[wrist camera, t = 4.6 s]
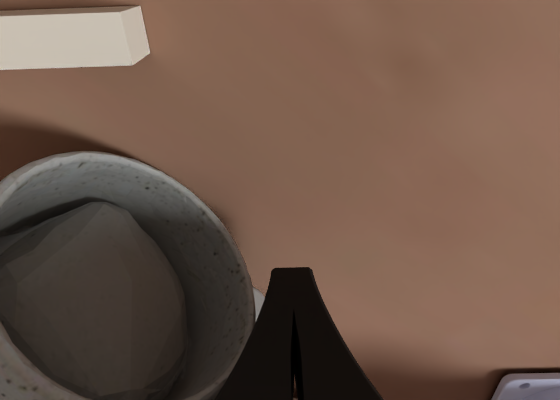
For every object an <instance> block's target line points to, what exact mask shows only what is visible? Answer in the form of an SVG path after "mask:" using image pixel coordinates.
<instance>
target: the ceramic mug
mask: <svg viewBox="0 0 560 400" xmlns="http://www.w3.org/2000/svg"><path fill="white" fill-rule="evenodd" d="M264 299H265V298H264V296H263V294H262V293H261V292H260V291H259V290H258V289H256V288H255V287H253V286H252V282H251V277H250V275H249V273H248V271H247V267H246V263H245V261H244V259H243V257H242V255H241V253H240V251H239V249H238V246H237V244H236V243H235V241H234V240H233V238H232V237H231V235H230V234H229V232H228V230H227V229H226V227H225V226H224V225H223V223H222V222H221V221H220V220H219V219H218V217H217V216H216V215H215V214H214V213H213V212H212V211H211V210H210V208H209V207H208V206H207V205H206V204H205V203H204V202H202V201H201V200H200V199H199V198H198V197H197V196H196V195H194V194H193V193H192V192H191V191H190V190H189V189H187V188H186V187H185V186H183V185H182V184H180V183H179V182H178V181H176V180H175V179H173V178H172V177H170V176H168V175H166V174H165V173H164V172H162V171H160V170H158V169H156V168H153V167H151V166H149V165H147V164H144V163H142V162H140V161H138V160H135V159H131V158H127V157H123V156H119V155H115V154H112V153H107V152H97V151H75V152H68V153H61V154H55V155H51V156H48V157H45V158H42V159H39V160H36V161H33V162H30V163H28V164H26V165H24V166H23V167H21V168H19V169H17V170H16V171H14V172H12V173H10V174H9V175H7V176H6V177H5V178H4V179H3V180H1V181H0V400H215V398H216V396H217V395H218V393H219V392H220V390H221V388H222V387H223V385H224V383H225V382H226V380H227V378H228V377H229V375H230V373H231V371H232V370H233V368H234V366H235V364H236V362H237V360H238V359H239V357H240V355H241V353H242V351H243V349H244V347H245V345H246V342H247V340H248V338H249V336H250V334H251V332H252V330H253V327H254V325H255V323H256V320H257V318H258V315H259V313H260V310H261V307H262V305H263V302H264Z"/></svg>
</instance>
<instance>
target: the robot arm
mask: <svg viewBox="0 0 560 400" xmlns="http://www.w3.org/2000/svg"><path fill="white" fill-rule="evenodd" d="M294 374H295V381H296V389H297V397H298V400H383V398H382V397H381V396H380V394H379V393H378V392H377V390H376V389H375V387H374V386H373V385H372V383H371V382H370V381H369V379H368V378H367V376H366V375H365V373H364V372H363V370H362V369H361V367H360V366H359V364H358V363H357V361H356V360H355V358H354V357H353V355H352V353H351V352H350V350H349V349H348V347H347V345H346V344H345V342H344V340H343V338H342V337H341V335H340V333H339V331H338V330H337V328H336V326H335V324H334V322H333V320H332V318H331V316H330V314H329V312H328V310H327V308H326V306H325V304H324V302H323V299H322V297H321V295H320V292H319V290H318V287H317V285H316V282H315V279H314V275H313V271H312V269H310V268H309V267H298V268H274V269H273V270H272V271H271V278H270V282H269V286H268V290H267V293H266V296H265V299H264V302H263V305H262V307H261V310H260V313H259V315H258V318H257V320H256V323H255V325H254V327H253V330H252V332H251V334H250V336H249V338H248V340H247V342H246V345H245V347H244V349H243V351H242V353H241V355H240V357H239V359H238V360H237V362H236V364H235V366H234V368H233V370H232V371H231V373H230V375H229V377H228V378H227V380H226V382H225V383H224V385H223V387H222V388H221V390H220V392H219V393H218V395H217V396H216V398H215V400H293V393H294ZM491 400H560V373H519V374H508V375H506V376H504V377H503V378H502V379H501V381H500V383H499V385H498V387H497V389H496V391H495V393H494V395H493V397H492V399H491Z"/></svg>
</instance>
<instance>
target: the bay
mask: <svg viewBox="0 0 560 400" xmlns="http://www.w3.org/2000/svg"><path fill="white" fill-rule="evenodd" d="M149 53H150V49H149V45H148V40H147V35H146V30H145V26H144V21H143V16H142V11H141V7H140V6H116V7H88V8H61V9H33V10H5V11H0V70H9V69H39V68H69V67H99V66H129V65H134V64H135V63H137V62H138V61H140V60H141V59H142V58H144V57H145V56H147V55H148V54H149Z"/></svg>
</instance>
